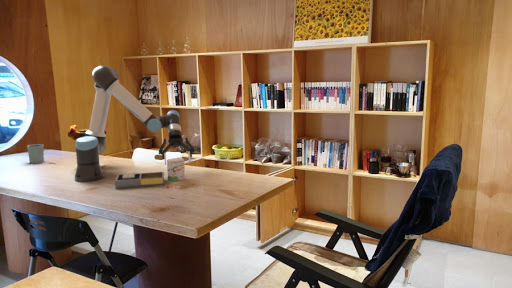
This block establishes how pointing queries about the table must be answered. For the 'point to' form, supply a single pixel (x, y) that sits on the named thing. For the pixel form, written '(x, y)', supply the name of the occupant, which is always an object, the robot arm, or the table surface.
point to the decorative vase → (79, 135)
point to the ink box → (175, 169)
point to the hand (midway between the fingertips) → (177, 162)
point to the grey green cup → (36, 153)
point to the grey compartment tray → (139, 180)
